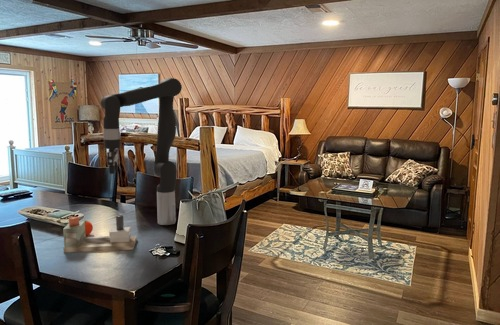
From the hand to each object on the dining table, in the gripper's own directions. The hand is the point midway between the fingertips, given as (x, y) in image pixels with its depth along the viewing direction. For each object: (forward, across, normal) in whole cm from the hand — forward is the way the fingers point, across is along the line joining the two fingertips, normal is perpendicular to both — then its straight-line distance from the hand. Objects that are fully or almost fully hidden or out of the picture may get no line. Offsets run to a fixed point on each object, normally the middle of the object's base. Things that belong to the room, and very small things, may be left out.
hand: (113, 172), depth 183 cm
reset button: (+20, -20, +14) cm, 31 cm away
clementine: (+30, -4, +14) cm, 33 cm away
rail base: (+30, -20, +3) cm, 36 cm away
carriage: (+27, -20, -5) cm, 34 cm away
